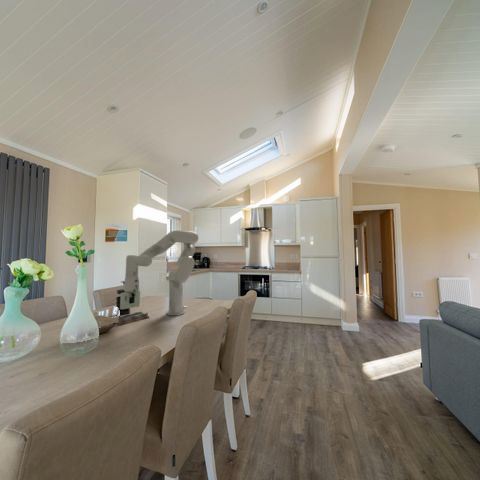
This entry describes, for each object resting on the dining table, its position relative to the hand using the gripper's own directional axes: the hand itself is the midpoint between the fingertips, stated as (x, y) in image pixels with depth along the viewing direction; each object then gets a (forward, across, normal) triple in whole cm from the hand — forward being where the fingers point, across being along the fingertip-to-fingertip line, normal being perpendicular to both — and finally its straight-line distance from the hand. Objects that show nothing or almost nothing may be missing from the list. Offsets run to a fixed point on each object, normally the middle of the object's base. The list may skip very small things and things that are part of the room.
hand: (130, 302), depth 157 cm
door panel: (+3, 0, 0) cm, 3 cm away
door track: (+11, 0, -1) cm, 11 cm away
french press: (+11, +17, -6) cm, 21 cm away
